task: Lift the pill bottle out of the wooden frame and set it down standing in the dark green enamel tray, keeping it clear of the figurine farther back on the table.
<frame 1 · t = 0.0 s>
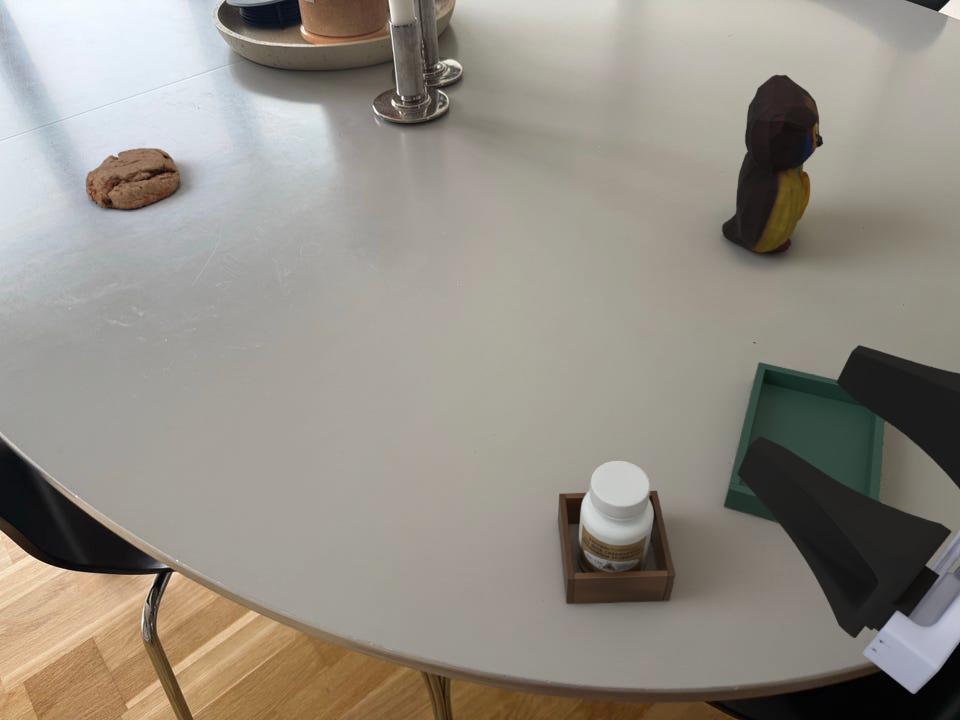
hand: (800, 407, 34), 20 cm above the table, tool horizontal, fingers open, 7 cm apart
pill bottle: (610, 559, 53), resting in wooden frame
figurine: (757, 243, 78), on the table
wooden frame: (611, 558, 53), on the table
tray: (805, 455, 59), on the table
cookie: (137, 188, 90), on the table
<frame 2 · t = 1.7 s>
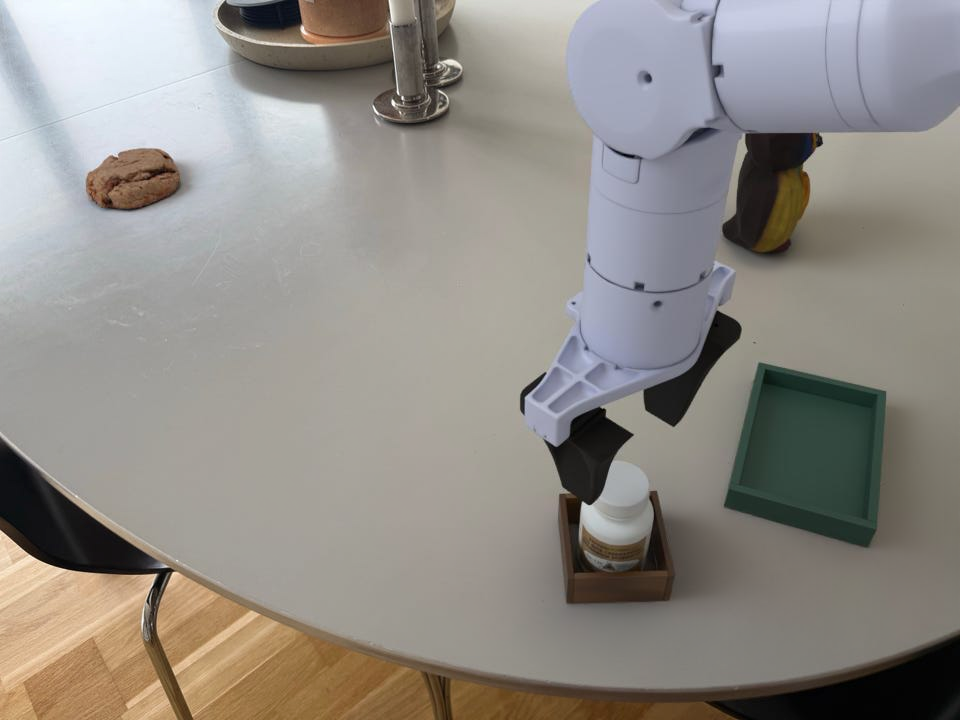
hand: (622, 452, 46), 10 cm above the table, tool pointing down, fingers open, 7 cm apart
nothing on the table moved.
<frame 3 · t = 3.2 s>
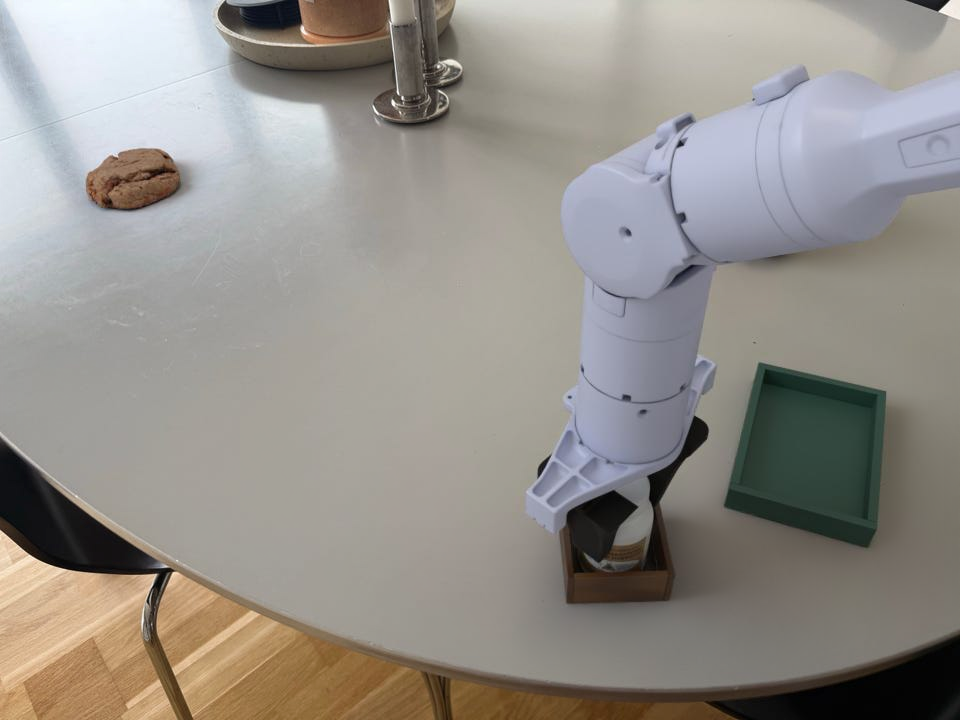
hand: (615, 524, 50), 4 cm above the table, tool pointing down, fingers closed on pill bottle, 4 cm apart
pill bottle: (610, 560, 53), resting in wooden frame, touching gripper
everything else where it was.
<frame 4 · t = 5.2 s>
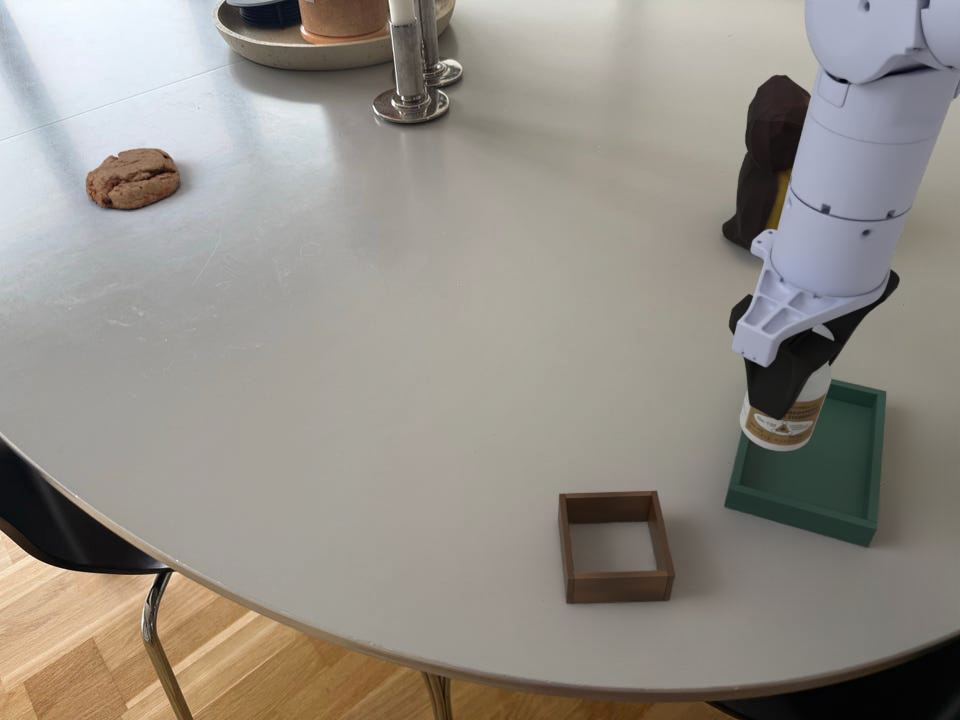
hand: (788, 387, 49), 10 cm above the table, tool pointing down, fingers closed on pill bottle, 4 cm apart
pill bottle: (773, 429, 52), point 7 cm above the table, touching gripper
everything else where it was.
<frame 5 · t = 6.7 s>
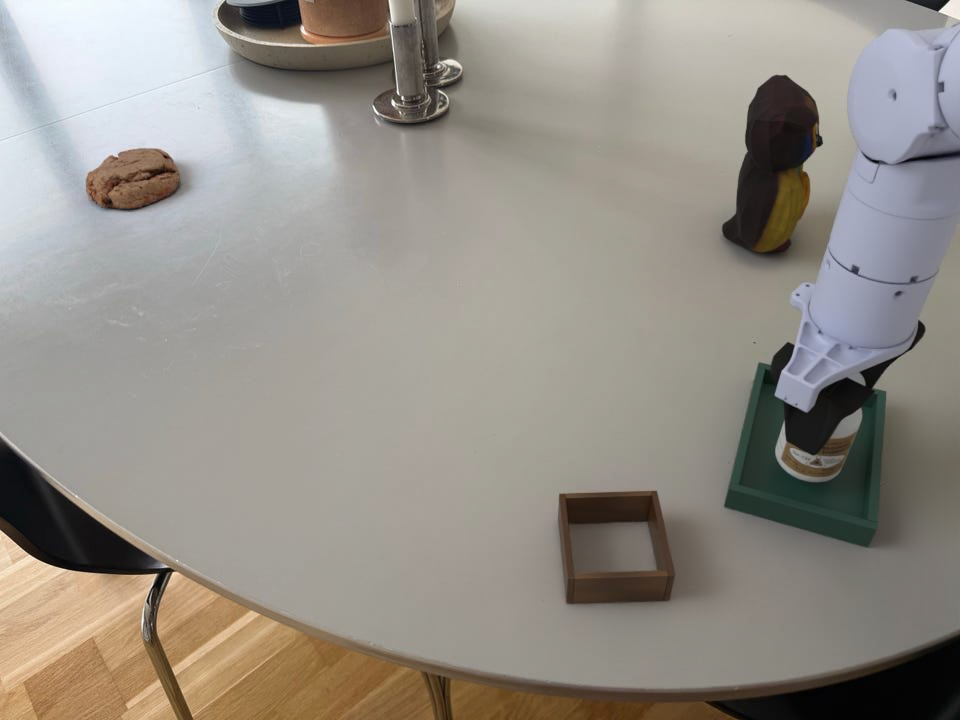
hand: (821, 423, 54), 5 cm above the table, tool pointing down, fingers closed on pill bottle, 4 cm apart
pill bottle: (806, 461, 56), point 2 cm above the table, touching gripper
everything else where it was.
when the fingers open (4 cm above the table, at t = 7.6 s): pill bottle stays where it is, resting on tray.
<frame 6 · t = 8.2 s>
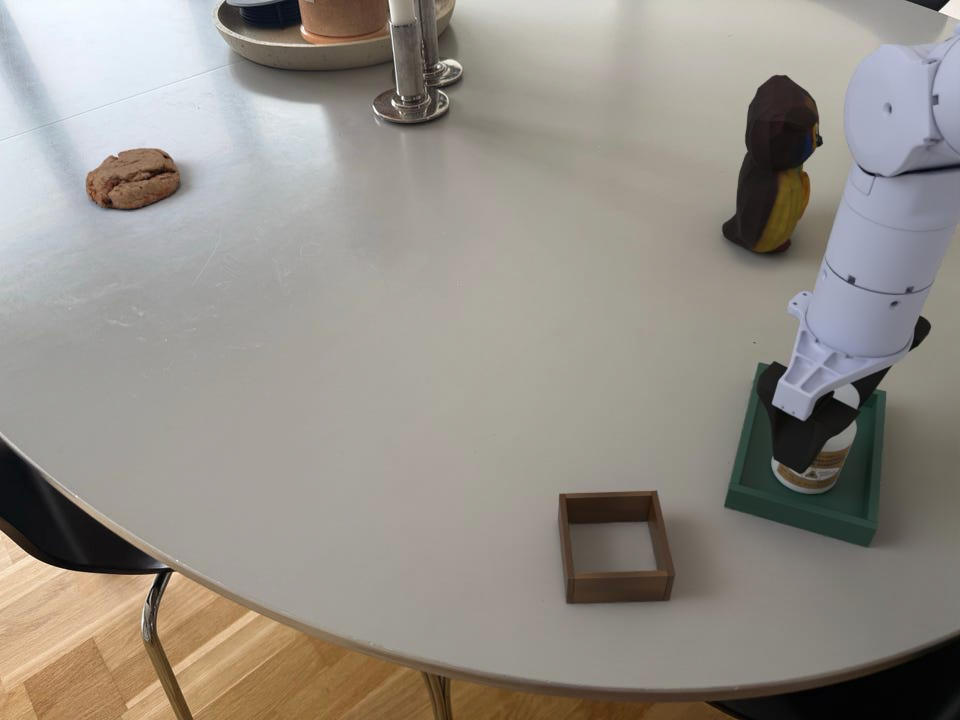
hand: (818, 430, 54), 5 cm above the table, tool pointing down, fingers open, 7 cm apart
pill bottle: (802, 473, 57), resting on tray
everything else where it was.
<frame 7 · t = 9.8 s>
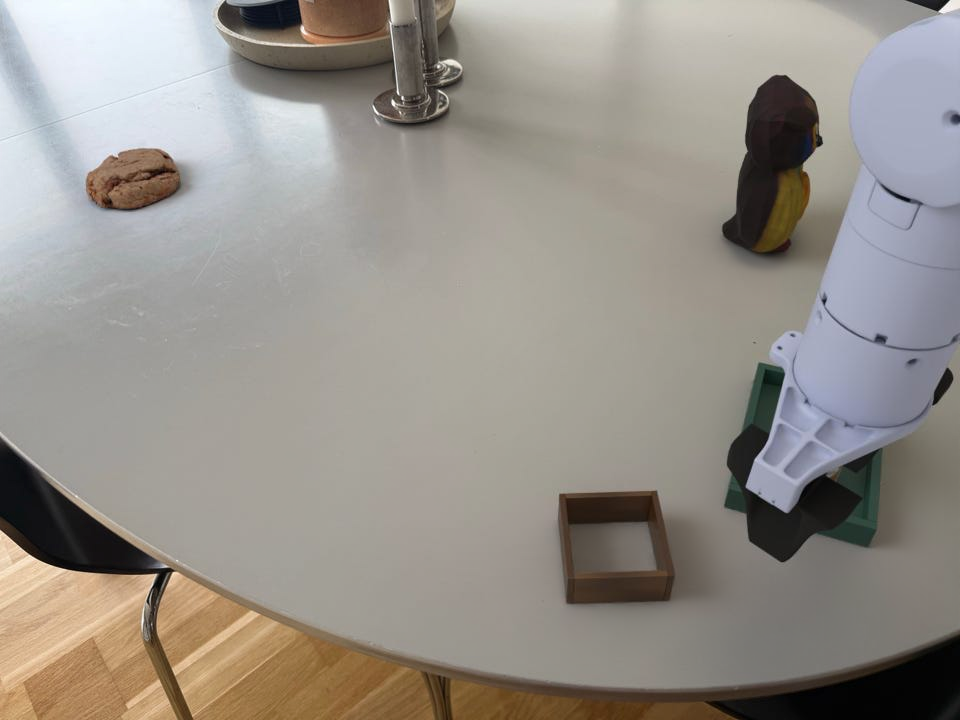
hand: (806, 501, 43), 10 cm above the table, tool pointing down, fingers open, 7 cm apart
nothing on the table moved.
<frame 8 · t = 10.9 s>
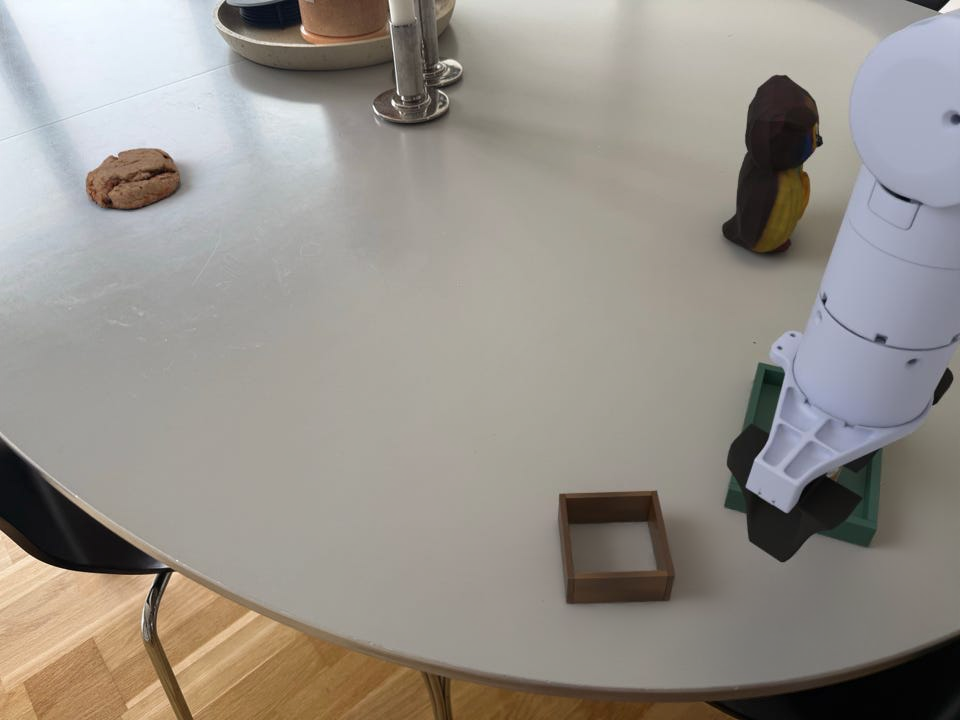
hand: (806, 501, 43), 10 cm above the table, tool pointing down, fingers open, 7 cm apart
nothing on the table moved.
at the end: pill bottle inside the target area in the tray (2.0 cm from its centre), point 0.3 cm above the tray's base; pill bottle tilted 0°; pill bottle touching tray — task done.
